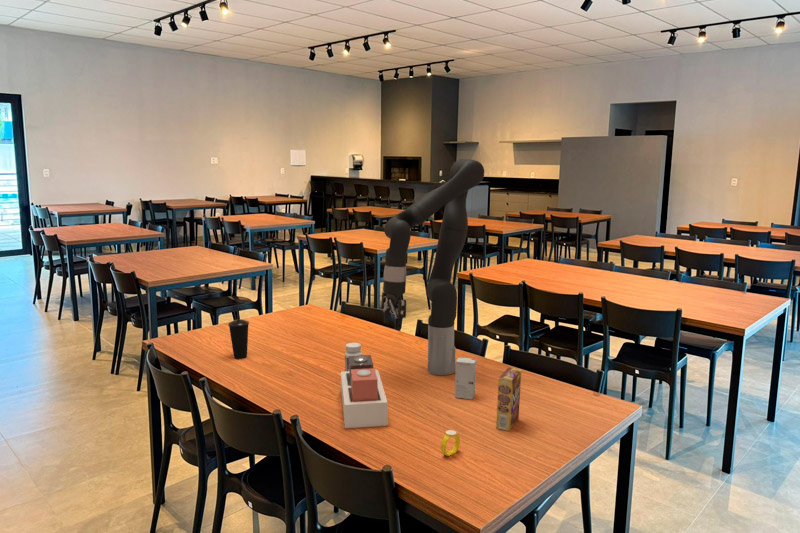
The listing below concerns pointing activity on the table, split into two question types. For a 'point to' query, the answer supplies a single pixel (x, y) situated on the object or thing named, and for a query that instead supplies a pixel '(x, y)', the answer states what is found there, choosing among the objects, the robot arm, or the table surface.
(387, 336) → the table surface
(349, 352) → the pill bottle
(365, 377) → the red button block
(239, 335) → the drinking cup
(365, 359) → the grey button block
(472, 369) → the skincare box
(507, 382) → the candy box
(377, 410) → the frame
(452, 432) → the watch
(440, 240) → the robot arm
